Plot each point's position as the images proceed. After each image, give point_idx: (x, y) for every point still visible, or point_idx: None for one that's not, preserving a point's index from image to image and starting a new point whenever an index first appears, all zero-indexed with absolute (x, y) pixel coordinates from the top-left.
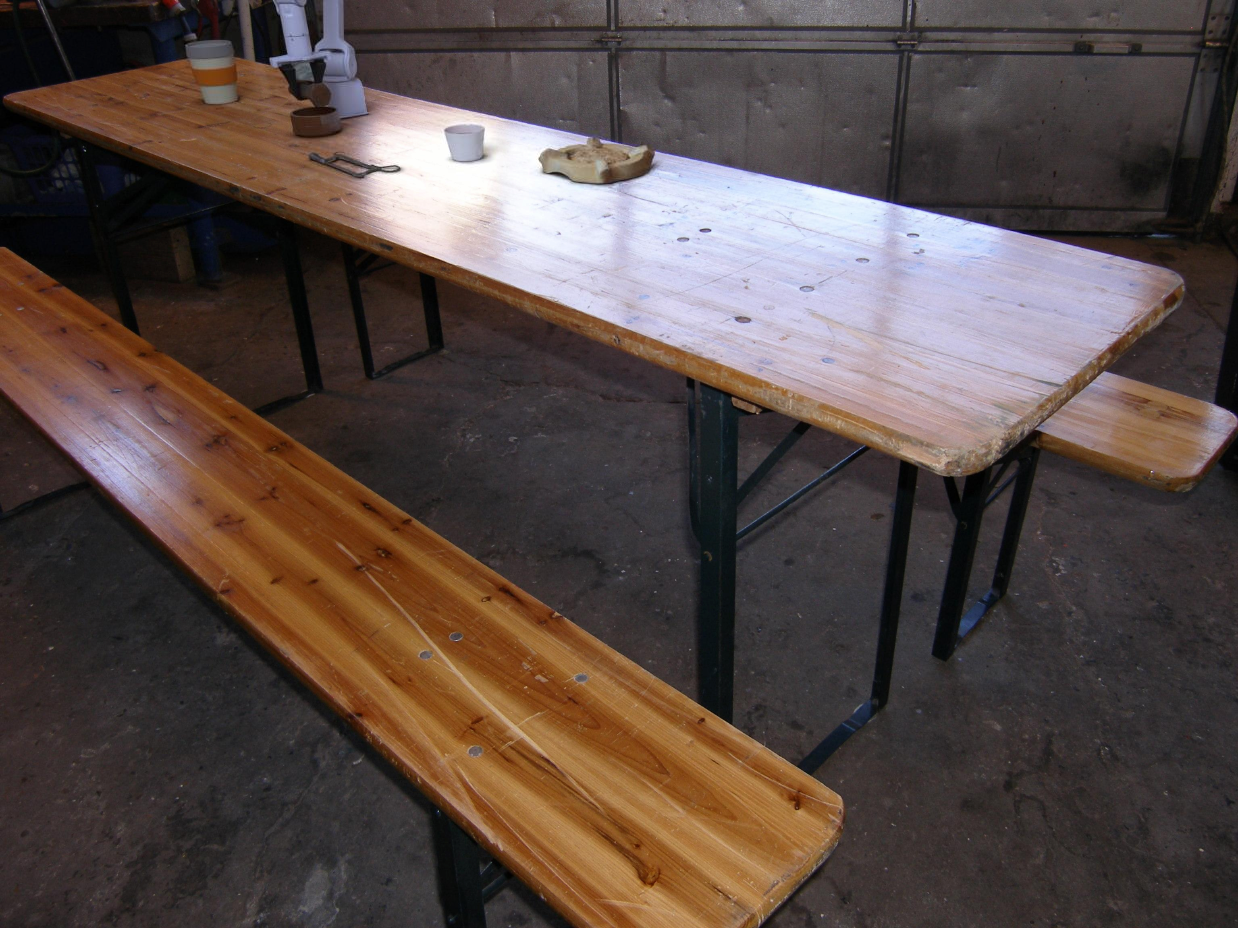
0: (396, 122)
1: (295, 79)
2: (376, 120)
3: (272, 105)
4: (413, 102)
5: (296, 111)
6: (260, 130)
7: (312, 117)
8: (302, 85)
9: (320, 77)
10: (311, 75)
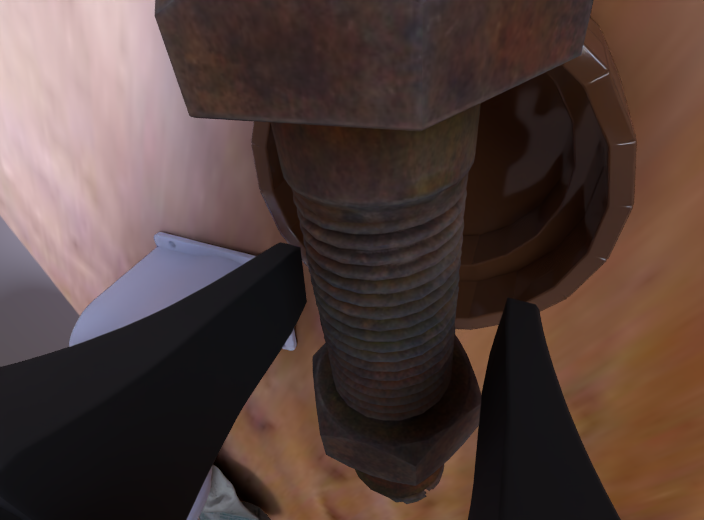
0: (45, 5)
1: (513, 471)
2: (135, 125)
3: (374, 498)
4: (29, 243)
5: (484, 310)
6: (619, 387)
7: None
8: (388, 397)
9: (166, 329)
10: (230, 517)
